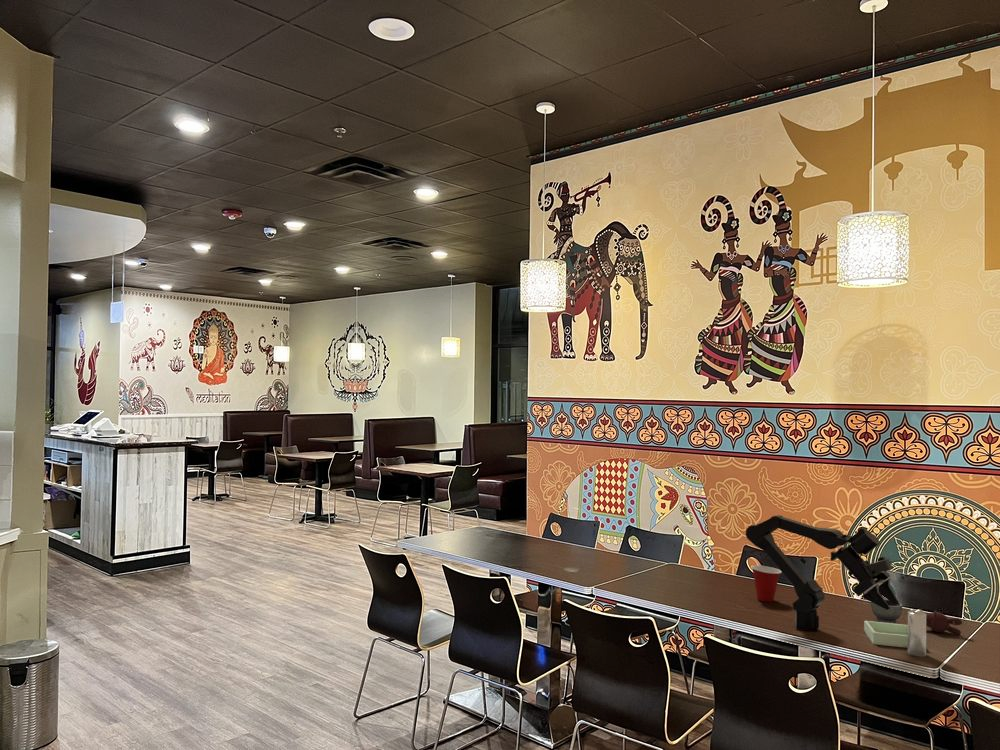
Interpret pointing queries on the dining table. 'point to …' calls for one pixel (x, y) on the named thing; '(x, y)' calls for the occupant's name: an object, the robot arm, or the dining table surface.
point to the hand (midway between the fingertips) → (893, 606)
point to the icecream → (942, 623)
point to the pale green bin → (887, 633)
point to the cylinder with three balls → (917, 633)
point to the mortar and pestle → (887, 612)
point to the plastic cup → (765, 582)
